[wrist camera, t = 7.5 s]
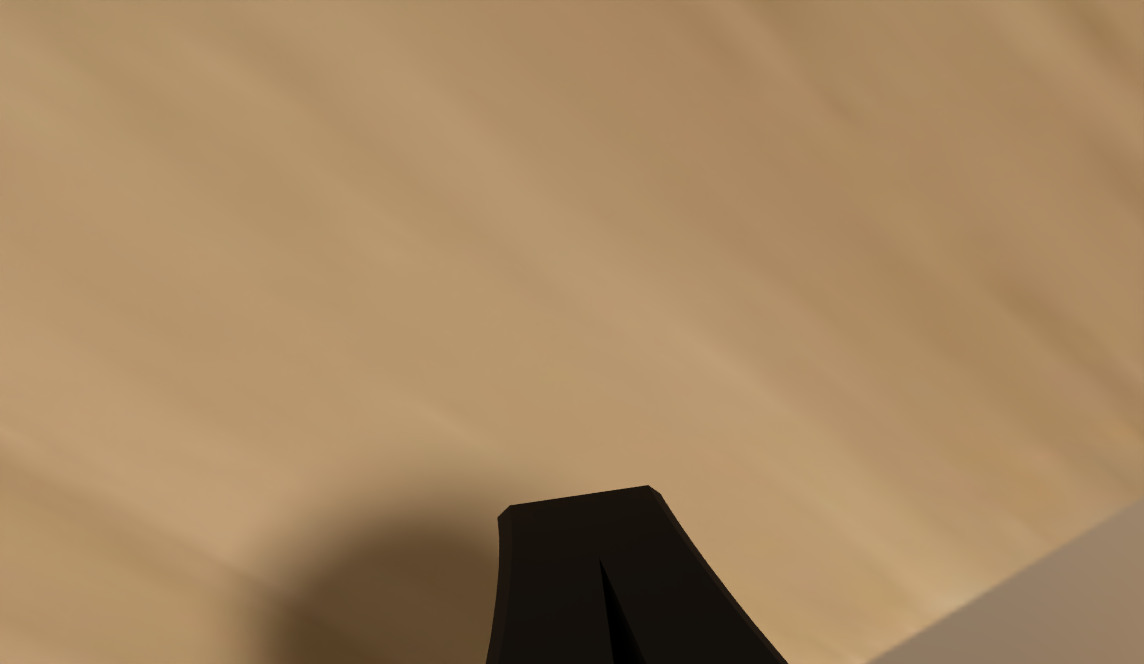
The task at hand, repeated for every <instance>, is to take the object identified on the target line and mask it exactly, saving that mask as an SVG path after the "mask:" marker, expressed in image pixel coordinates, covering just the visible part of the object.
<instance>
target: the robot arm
mask: <svg viewBox="0 0 1144 664" xmlns="http://www.w3.org/2000/svg"><path fill="white" fill-rule="evenodd" d="M498 529H499V572H498V584H497V595H496V603H495V610H494V617H493V625H492V632H491V639H490V644H489V650H488V655H487V660H486V664H788V663H787V661H786V660H785V659H784V658H783V657H782V656H781V654H780V653H779V652H778V651H777V650H776V648H775V647H774V646H773V645H772V644H771V643H770V641H769V640H768V639H767V638H766V637H765V636H764V634H763V633H762V632H761V631H760V630H759V628H758V627H757V626H756V625H755V624H754V622H753V621H752V620H751V619H750V617H749V616H748V615H747V614H746V612H745V611H744V610H743V609H742V607H741V606H740V605H739V604H738V602H737V601H736V600H735V599H734V597H733V596H732V595H731V593H730V592H729V591H728V590H727V588H726V587H725V586H724V584H723V583H722V582H721V580H720V579H719V578H718V576H717V575H716V574H715V572H714V571H713V570H712V569H711V567H710V566H709V565H708V563H707V562H706V560H705V559H704V558H703V556H702V555H701V554H700V552H699V551H698V549H697V548H696V547H695V545H694V544H693V542H692V541H691V540H690V538H689V537H688V535H687V534H686V532H685V531H684V530H683V528H682V527H681V525H680V524H679V522H678V521H677V519H676V517H675V516H674V514H673V513H672V511H671V510H670V508H669V507H668V505H667V504H666V502H665V500H664V499H663V497H662V495H661V494H660V493H659V492H657V491H656V490H654V489H653V488H652V487H650V486H649V485H646V486H639V487H632V488H626V489H619V490H612V491H605V492H598V493H592V494H585V495H578V496H571V497H564V498H558V499H551V500H544V501H537V502H530V503H524V504H517V505H510V506H509V507H508V508H507V509H506V510H505V511H504V512H503V513H502V514H501V515H500V516H499V517H498Z"/></svg>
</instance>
